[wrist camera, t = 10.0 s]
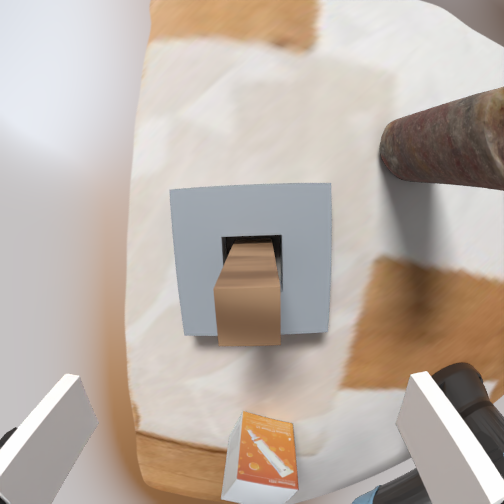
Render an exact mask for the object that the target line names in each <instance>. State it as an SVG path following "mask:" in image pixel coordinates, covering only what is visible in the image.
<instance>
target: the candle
mask: <svg viewBox="0 0 504 504" xmlns="http://www.w3.org/2000/svg"><path fill="white" fill-rule="evenodd" d="M380 154H381V157H382V160H383V162H384V164H385V165H386V166H387V168H388V169H389V170H390V171H391V173H392V174H393V175H395V176H396V177H398V178H399V179H401V180H406V181H413V182H425V183H439V184H452V185H463V186H472V187H482V188H488V189H496V190H503V191H504V87H501V88H498V89H494V90H490V91H486V92H482V93H478V94H475V95H472V96H468V97H465V98H462V99H459V100H455V101H452V102H449V103H446V104H442V105H439V106H437V107H433V108H430V109H427V110H424V111H421V112H418V113H415V114H412V115H408V116H405V117H402V118H400V119H397V120H394V121H392V122H391V123H389V124H388V125H387V126H386V128H385V130H384V132H383V134H382V137H381V142H380Z"/></svg>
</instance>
